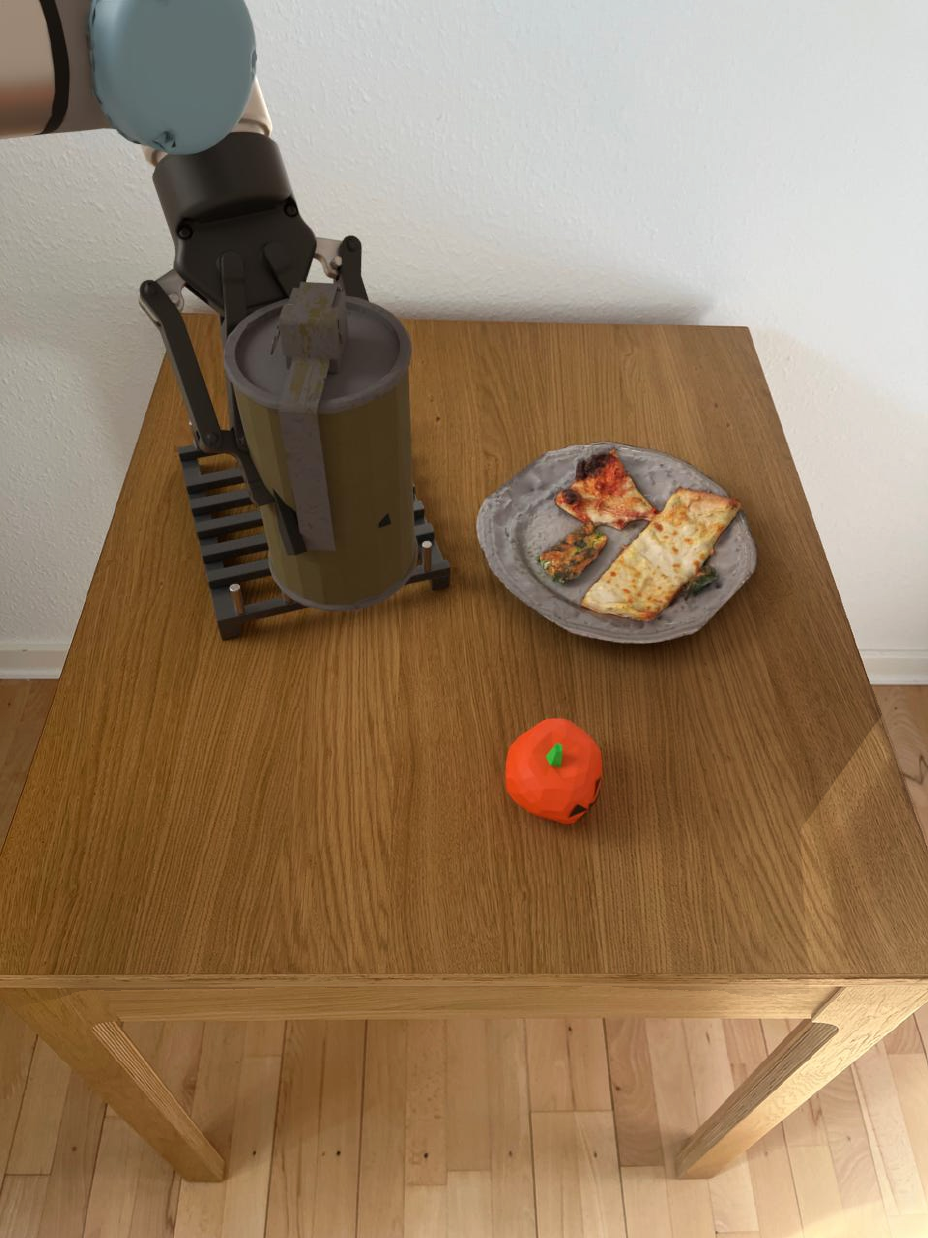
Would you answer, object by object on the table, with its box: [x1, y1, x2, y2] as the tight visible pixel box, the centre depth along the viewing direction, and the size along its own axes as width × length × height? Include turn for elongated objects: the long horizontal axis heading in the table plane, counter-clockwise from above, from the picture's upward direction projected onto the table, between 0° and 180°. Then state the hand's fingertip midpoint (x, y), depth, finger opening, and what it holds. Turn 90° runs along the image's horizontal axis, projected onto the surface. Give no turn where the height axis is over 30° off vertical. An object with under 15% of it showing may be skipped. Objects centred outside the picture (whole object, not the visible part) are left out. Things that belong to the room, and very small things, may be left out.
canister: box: [222, 281, 419, 613], centre depth 58 cm, size 11×10×20 cm
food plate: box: [475, 440, 758, 645], centre depth 85 cm, size 25×23×4 cm
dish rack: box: [176, 420, 451, 641], centre depth 85 cm, size 20×22×6 cm
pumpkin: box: [504, 717, 603, 825], centre depth 68 cm, size 7×8×6 cm
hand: (339, 539), depth 58 cm, fingers closed on canister, 5 cm apart
